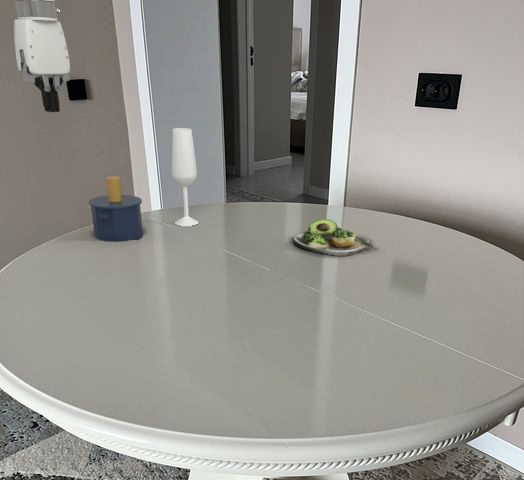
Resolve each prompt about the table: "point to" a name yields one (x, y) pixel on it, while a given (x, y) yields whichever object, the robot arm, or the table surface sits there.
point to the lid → (114, 197)
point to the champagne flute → (184, 167)
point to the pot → (117, 224)
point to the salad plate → (331, 239)
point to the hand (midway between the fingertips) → (52, 111)
